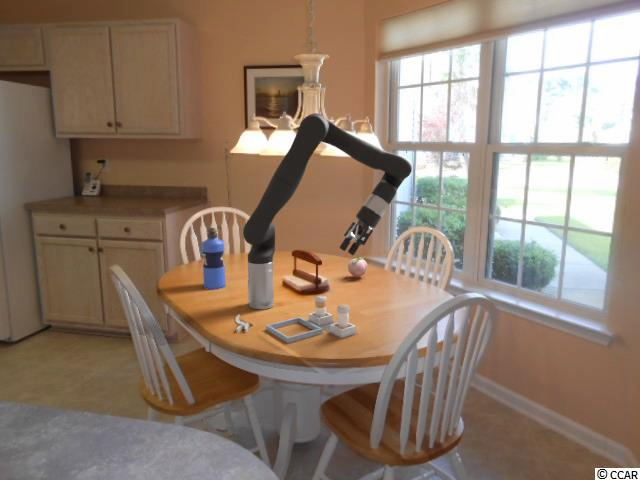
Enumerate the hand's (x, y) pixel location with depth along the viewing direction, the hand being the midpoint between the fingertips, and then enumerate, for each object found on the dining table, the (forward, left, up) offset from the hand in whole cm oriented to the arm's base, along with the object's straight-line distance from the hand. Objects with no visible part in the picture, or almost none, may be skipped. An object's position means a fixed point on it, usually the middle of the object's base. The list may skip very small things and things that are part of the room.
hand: (345, 251), depth 160 cm
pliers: (-18, -28, -25) cm, 42 cm away
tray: (-1, -20, -25) cm, 32 cm away
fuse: (+9, -8, -24) cm, 27 cm away
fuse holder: (+3, -8, -25) cm, 26 cm away
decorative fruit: (-38, +38, -25) cm, 60 cm away
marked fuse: (-3, -8, -24) cm, 25 cm away
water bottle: (-64, -19, -25) cm, 72 cm away
